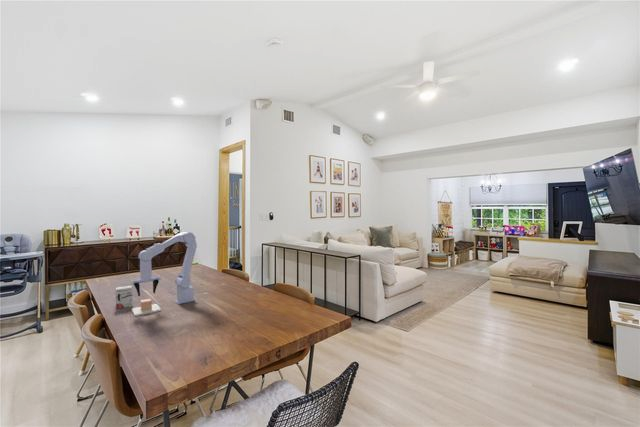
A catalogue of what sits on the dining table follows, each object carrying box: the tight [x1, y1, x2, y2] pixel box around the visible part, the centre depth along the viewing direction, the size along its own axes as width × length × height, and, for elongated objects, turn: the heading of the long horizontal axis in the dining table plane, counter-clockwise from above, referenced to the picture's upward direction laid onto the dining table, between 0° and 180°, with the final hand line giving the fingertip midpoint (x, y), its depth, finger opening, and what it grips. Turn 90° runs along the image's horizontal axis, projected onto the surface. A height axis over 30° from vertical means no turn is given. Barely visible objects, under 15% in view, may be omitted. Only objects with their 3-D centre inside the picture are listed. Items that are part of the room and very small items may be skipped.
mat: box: [131, 303, 162, 317], centre depth 171 cm, size 13×13×1 cm
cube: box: [139, 298, 153, 311], centre depth 171 cm, size 5×5×5 cm
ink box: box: [115, 284, 134, 310], centre depth 179 cm, size 8×5×12 cm, turn 123°
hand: (146, 294), depth 172 cm, fingers open, 7 cm apart
